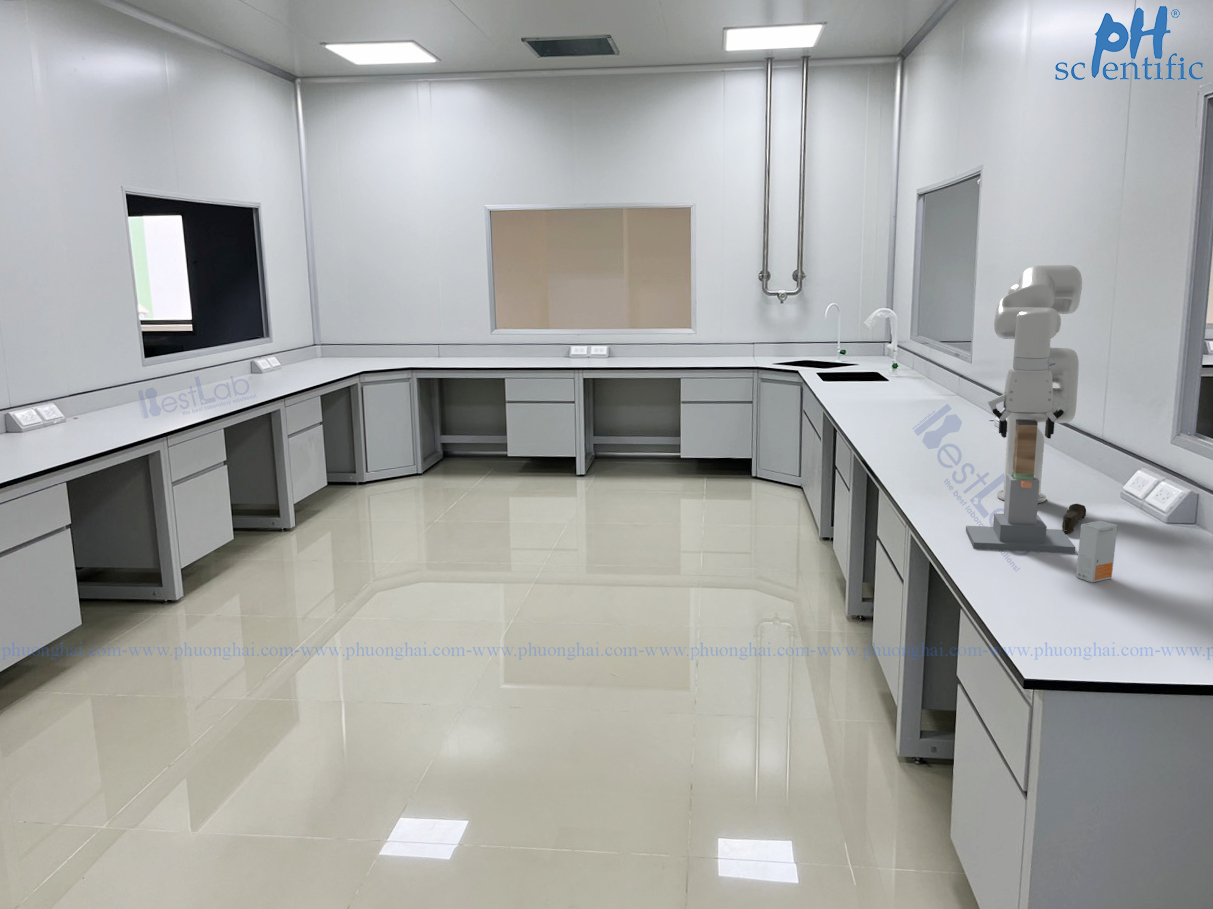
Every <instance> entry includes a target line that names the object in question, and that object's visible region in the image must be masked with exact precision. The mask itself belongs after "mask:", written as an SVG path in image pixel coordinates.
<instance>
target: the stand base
mask: <svg viewBox="0 0 1213 909" xmlns="http://www.w3.org/2000/svg"><path fill="white" fill-rule="evenodd" d="M1038 494H1039V480H1038V479H1037V477H1036V476H1035V475H1034V480H1020V479H1013V477H1012V474H1006V488H1005V501H1004V506H1003V513H995V512H994V513H993V520H992V522H993V524H992V526H988V525H987V526H985V525H984V526H983V525H982V526H981V525H966V526H965V533H966V535H967V537H968V539H969V541H970V544H971V546H972V548H973V549H978V550H998V551H999V550H1001V551H1019V552H1040V553H1041V552H1042V553H1061V554H1062V553H1063V554H1075V553H1076V545H1075V544H1074V543H1073V542H1072V541H1071V540H1070V538H1069V537H1068V535H1066V534H1065V533H1064V532H1063V531H1062V529H1058V528H1057V529H1056V528H1055V529H1053V528H1052V529H1051V528H1047V525H1046V524H1045V523H1044V521H1043V519H1042V518H1041V517H1040V516H1039V515H1038V504H1039V503H1038Z"/></svg>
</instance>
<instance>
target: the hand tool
mask: <svg viewBox="0 0 1213 909" xmlns="http://www.w3.org/2000/svg"><path fill="white" fill-rule="evenodd" d="M1086 514H1087V509H1086V505H1083V504H1080V503H1073V504H1070V505H1069V506H1068V510H1067V511H1066V513H1064V515H1063V517H1062V523H1061V524H1062V526H1061V530H1062V531H1063V532H1064V533H1065V534H1066V536H1068V535H1070V534H1071V533H1073V532H1074V531H1075V527H1076V526H1077V525H1078V524H1079V522H1080V521H1081V520H1082V519H1084V518H1085V517H1086V516H1087V515H1086Z"/></svg>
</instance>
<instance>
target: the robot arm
mask: <svg viewBox="0 0 1213 909" xmlns="http://www.w3.org/2000/svg"><path fill="white" fill-rule="evenodd" d="M1082 289H1083V279H1082V275H1081V271H1080V270H1079V268H1078V267H1076V266H1074V265H1070V264H1069V265H1067V264H1063V265H1062V264H1061V265H1059V264H1058V265H1057V264H1056V265H1050V264H1049V265H1048V264H1047V265H1035V266H1030V267H1028V268H1026V269H1025V270H1024V271H1023V272H1022V273H1021V274H1020V276H1019V280H1018V283H1015V284H1013V285H1012V286H1010V288H1009V289H1008V293H1007V295H1005V296H1003V297H1002V298H1001V299H1000V300H999V302H998V304H997V307H996V310H995V315H994V322H993V323H994V324H993V325H994V326H993V327H994V332H995V335H996V336H997V337H998V338H1001V339H1003V340H1014V345H1013V346H1014V347H1013V360H1012V361H1013V362H1012V369H1011V368H1010V369H1008V372H1007V376H1006V380H1005V384H1004V385H1005V386H1004V393H1003V394H1001V395H999V396H996V397H994V398H992V399H990V400H988V402H987V404H988V406H989V408H990V410H991V413H993V415H994V416H995V417H997V419H999V420H998V421H999V422H998V434H1000V436H1001V437H1002V438H1003V439H1005V438H1006V449H1005V462H1004V476H1003V477H1004V478H1003V489H1001V490H999V491H997V495H996V497H997V498H999V500H1001V501H1004V502H1005V488H1006V474H1012V469H1013V455H1014V441H1015V426H1016V419H1035V420H1036V421H1037V422H1038V423H1045V428H1044V429H1045V430H1044V434H1043V433H1042V432H1043V431H1041V429H1040V428H1039V427H1038V426H1037V439H1036V452H1035V466H1034V475H1035V476H1036V477H1037V479H1038V480H1039V494H1038V504H1041V503H1044V502H1046V501H1047V495H1046V494H1045V493H1042V492H1041V489H1042V476H1043V464H1044V452H1045V451H1044V448H1045V438H1047V439H1050V440H1051V438H1052V435H1054V433H1055V424H1066V423H1068V424H1069V423H1070V422H1072V421H1073V419H1075V415H1076V412H1077V400H1078V387H1079V386H1078V385H1079V370H1080V368H1079V367H1080V366H1079V356H1078V354H1077V352H1076V351H1075V350H1074V349H1072V348H1067V347H1051V339H1053V338H1054V337H1056V335H1057V333H1060V330H1061V325H1062V318H1061V315H1070V314H1073V313H1074V312H1076V311H1077V309H1078V308H1079V305H1080V300H1081V295H1082ZM1053 384H1057V385H1058V387H1054V385H1053ZM1002 402H1003V403H1002ZM1000 403H1002V405H1003V407H1002V408H1004V409H1003V410H1002V411H1000V410H999V409H998V408H997V405H998V404H1000Z"/></svg>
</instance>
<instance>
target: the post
mask: <svg viewBox="0 0 1213 909" xmlns="http://www.w3.org/2000/svg"><path fill="white" fill-rule="evenodd" d="M1038 423H1039V422H1037V421H1036V420H1035V419H1016V426H1015V441H1014V455H1013V469H1012V477H1013V479H1020V480H1034V466H1035V452H1036V439H1037V427H1038Z"/></svg>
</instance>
